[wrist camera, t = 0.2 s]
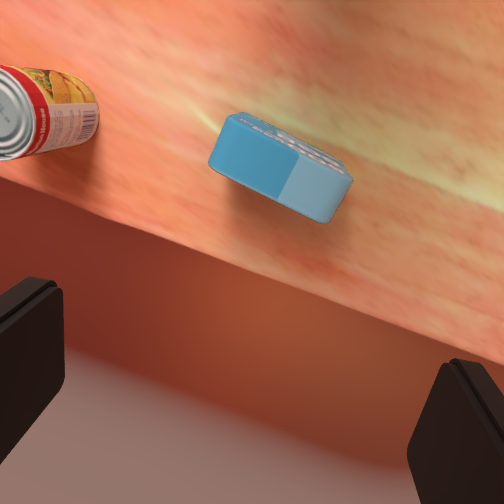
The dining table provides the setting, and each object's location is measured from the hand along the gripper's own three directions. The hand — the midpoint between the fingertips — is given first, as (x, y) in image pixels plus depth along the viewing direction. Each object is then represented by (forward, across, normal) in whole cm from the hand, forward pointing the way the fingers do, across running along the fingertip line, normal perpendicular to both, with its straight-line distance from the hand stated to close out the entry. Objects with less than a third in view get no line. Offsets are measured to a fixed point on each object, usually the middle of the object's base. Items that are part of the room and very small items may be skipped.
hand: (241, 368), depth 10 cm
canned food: (+37, +25, -1) cm, 45 cm away
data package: (+37, 0, 0) cm, 37 cm away
